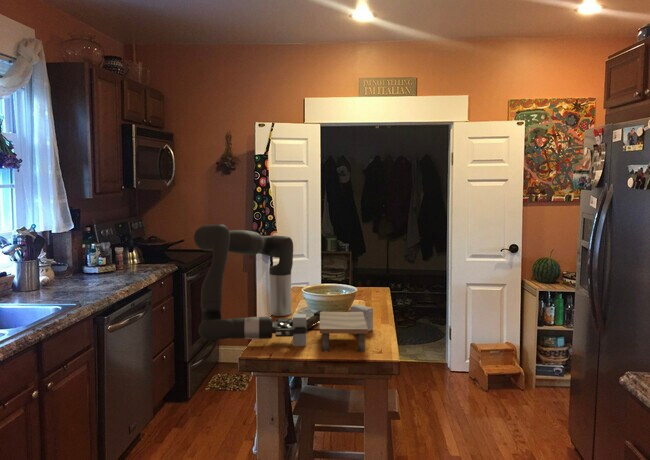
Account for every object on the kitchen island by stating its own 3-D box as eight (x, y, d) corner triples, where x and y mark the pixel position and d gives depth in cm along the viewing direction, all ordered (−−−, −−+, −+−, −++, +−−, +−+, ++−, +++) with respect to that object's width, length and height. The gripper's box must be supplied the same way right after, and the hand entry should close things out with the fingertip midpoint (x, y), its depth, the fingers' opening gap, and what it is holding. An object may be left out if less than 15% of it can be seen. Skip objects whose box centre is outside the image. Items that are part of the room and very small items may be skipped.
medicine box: (373, 330, 200) (373, 308, 199) (365, 332, 196) (365, 310, 196) (358, 325, 205) (358, 304, 204) (350, 328, 202) (350, 306, 201)
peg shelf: (320, 332, 196) (320, 311, 195) (362, 332, 196) (363, 311, 195) (319, 352, 174) (319, 328, 173) (367, 352, 174) (367, 329, 173)
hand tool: (306, 333, 195) (306, 321, 195) (296, 332, 197) (296, 320, 197) (328, 321, 212) (328, 310, 212) (319, 320, 214) (320, 309, 213)
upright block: (293, 341, 185) (293, 314, 184) (306, 341, 185) (306, 314, 184) (292, 345, 181) (292, 317, 180) (305, 345, 181) (305, 317, 180)
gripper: (257, 323, 173) (306, 322, 175) (258, 311, 188) (304, 311, 189) (257, 345, 174) (306, 343, 176) (259, 332, 188) (304, 331, 190)
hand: (305, 326), depth 182 cm, fingers open, 7 cm apart
